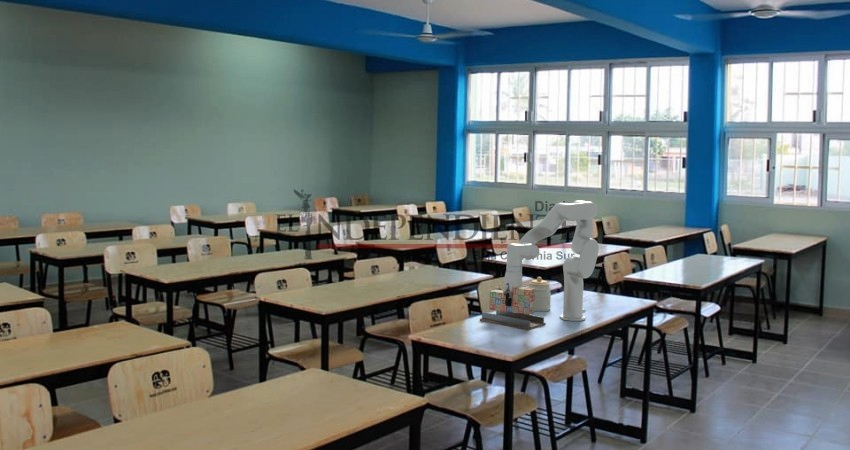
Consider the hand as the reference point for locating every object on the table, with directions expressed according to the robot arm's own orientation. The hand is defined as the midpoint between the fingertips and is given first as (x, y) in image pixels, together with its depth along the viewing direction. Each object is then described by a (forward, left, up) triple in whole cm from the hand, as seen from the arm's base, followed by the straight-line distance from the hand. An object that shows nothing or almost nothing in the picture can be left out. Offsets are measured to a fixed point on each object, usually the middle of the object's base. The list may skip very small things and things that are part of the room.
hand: (512, 304), depth 371 cm
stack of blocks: (0, -1, -4) cm, 4 cm away
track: (0, 0, -9) cm, 9 cm away
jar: (-37, -9, -9) cm, 39 cm away
